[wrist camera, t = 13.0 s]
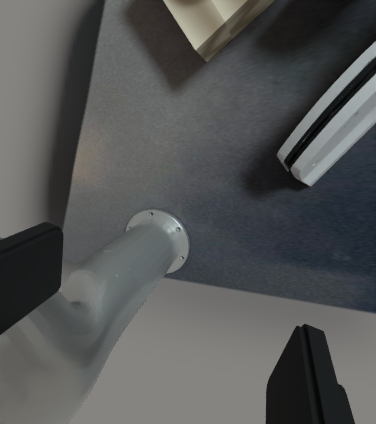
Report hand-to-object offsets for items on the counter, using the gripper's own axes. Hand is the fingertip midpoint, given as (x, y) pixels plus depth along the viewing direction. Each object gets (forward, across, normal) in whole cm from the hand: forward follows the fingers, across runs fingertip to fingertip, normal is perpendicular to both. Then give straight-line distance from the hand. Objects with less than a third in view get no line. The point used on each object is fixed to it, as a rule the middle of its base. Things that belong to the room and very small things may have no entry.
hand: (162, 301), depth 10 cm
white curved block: (+33, -9, -10) cm, 35 cm away
